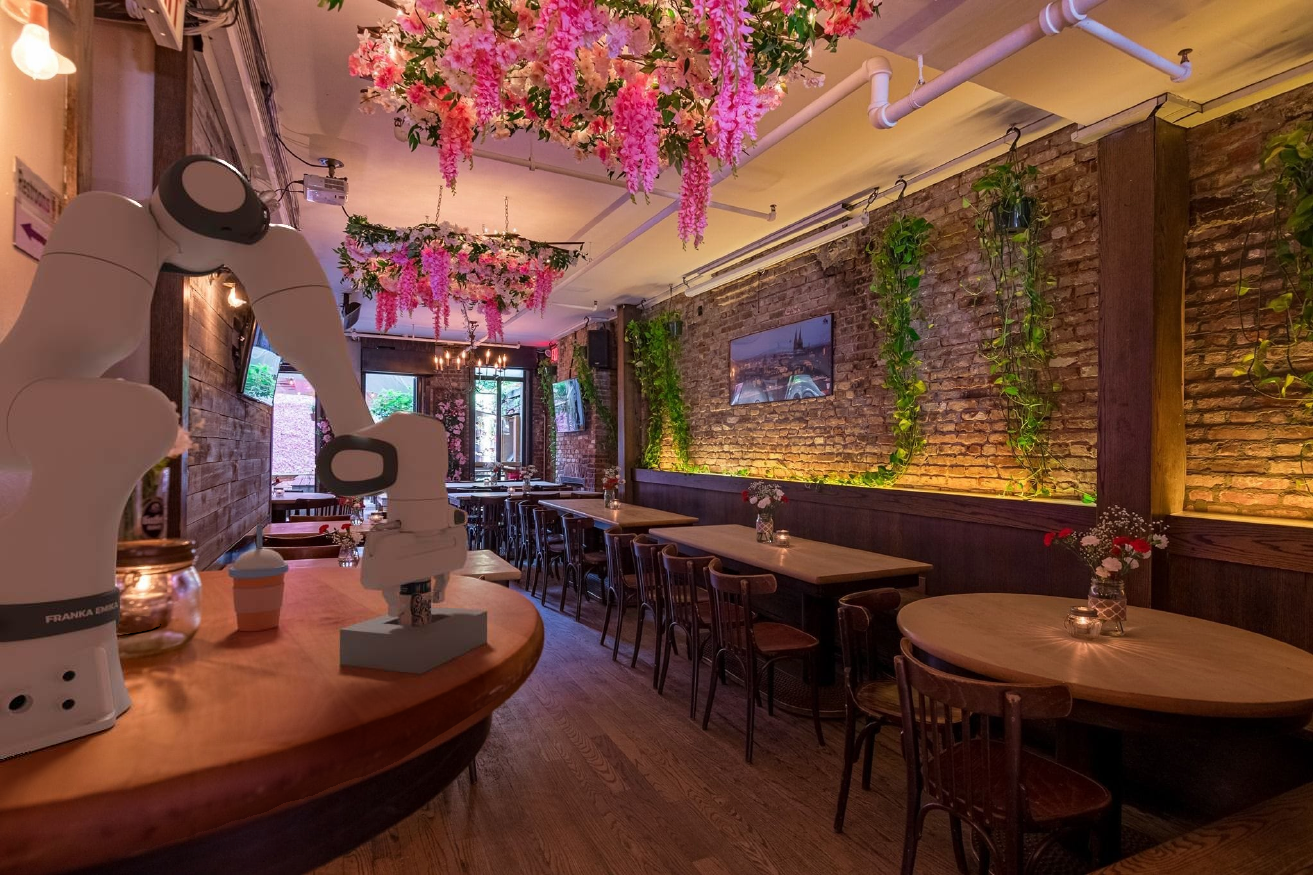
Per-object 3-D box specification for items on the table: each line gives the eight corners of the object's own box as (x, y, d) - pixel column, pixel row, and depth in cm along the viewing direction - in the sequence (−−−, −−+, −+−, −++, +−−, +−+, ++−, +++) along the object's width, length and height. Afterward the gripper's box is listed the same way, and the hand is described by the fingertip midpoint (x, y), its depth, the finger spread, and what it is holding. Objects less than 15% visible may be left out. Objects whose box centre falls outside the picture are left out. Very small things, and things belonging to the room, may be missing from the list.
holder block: (420, 674, 90) (420, 637, 90) (339, 664, 94) (339, 629, 94) (487, 642, 105) (487, 610, 105) (414, 635, 109) (414, 605, 109)
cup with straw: (232, 624, 117) (233, 523, 118) (290, 618, 121) (291, 521, 122) (223, 636, 109) (224, 528, 110) (285, 630, 113) (286, 525, 114)
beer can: (420, 656, 97) (421, 575, 98) (391, 655, 98) (391, 575, 99) (437, 647, 102) (437, 570, 102) (408, 646, 103) (408, 569, 103)
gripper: (385, 525, 89) (385, 627, 89) (474, 512, 109) (474, 596, 108) (349, 523, 91) (348, 623, 91) (442, 511, 111) (442, 594, 110)
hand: (417, 608), depth 100 cm, fingers open, 8 cm apart
